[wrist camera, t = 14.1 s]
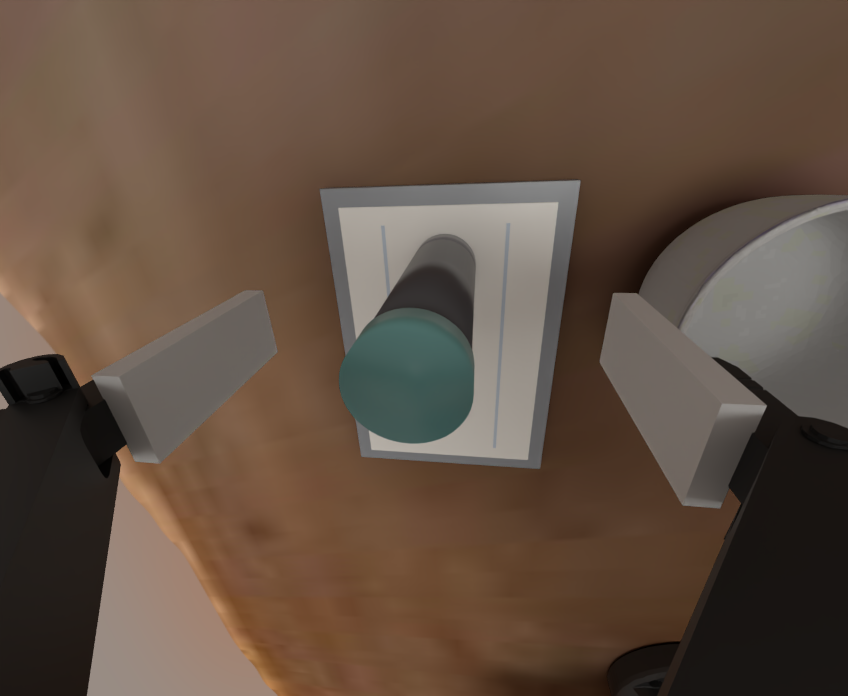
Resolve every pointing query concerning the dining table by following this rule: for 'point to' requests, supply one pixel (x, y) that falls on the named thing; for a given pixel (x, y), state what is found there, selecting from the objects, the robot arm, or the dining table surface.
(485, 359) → the small whiteboard
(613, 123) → the dining table surface
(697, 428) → the robot arm
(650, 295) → the teacup
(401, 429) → the marker
